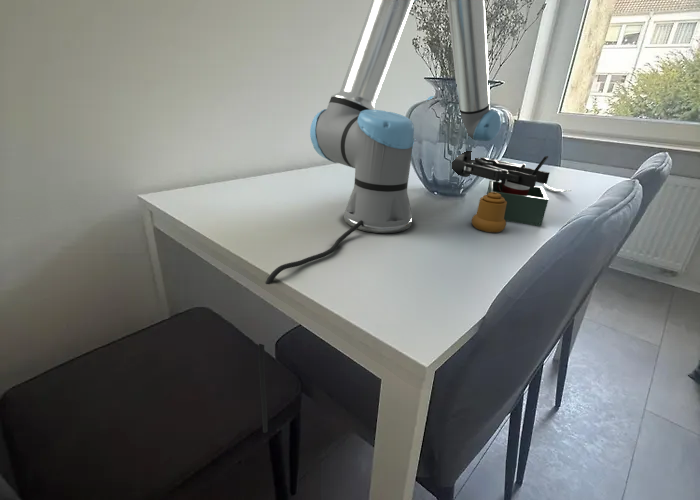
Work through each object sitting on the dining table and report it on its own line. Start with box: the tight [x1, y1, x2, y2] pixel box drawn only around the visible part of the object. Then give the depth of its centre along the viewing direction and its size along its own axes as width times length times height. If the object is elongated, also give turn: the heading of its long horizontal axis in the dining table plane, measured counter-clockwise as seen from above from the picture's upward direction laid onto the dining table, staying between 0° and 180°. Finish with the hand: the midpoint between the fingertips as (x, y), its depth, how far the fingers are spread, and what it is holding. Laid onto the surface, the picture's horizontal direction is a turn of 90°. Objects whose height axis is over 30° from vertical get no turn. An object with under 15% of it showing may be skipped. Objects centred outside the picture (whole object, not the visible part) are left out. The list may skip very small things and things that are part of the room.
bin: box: [486, 179, 549, 227], centre depth 98 cm, size 12×13×7 cm
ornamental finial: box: [471, 192, 507, 234], centre depth 88 cm, size 8×8×8 cm
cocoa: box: [497, 155, 549, 196], centre depth 95 cm, size 10×6×12 cm, turn 23°
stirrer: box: [541, 183, 573, 193], centre depth 126 cm, size 20×4×5 cm
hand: (541, 180), depth 91 cm, fingers closed on cocoa, 6 cm apart
